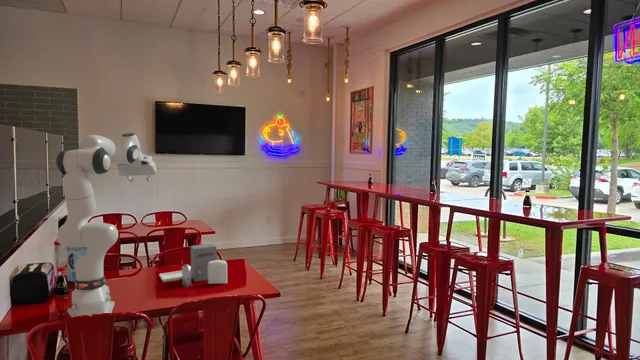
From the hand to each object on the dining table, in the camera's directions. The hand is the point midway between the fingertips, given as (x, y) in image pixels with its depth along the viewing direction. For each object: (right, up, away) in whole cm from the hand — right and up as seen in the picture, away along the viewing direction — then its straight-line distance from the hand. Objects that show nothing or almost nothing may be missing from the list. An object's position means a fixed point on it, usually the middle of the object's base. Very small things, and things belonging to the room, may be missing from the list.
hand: (140, 181), depth 248 cm
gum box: (-25, -55, -14) cm, 62 cm away
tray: (+22, -54, -7) cm, 58 cm away
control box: (+39, -54, -9) cm, 67 cm away
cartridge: (+33, -55, -20) cm, 67 cm away
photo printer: (+48, -55, -17) cm, 75 cm away
